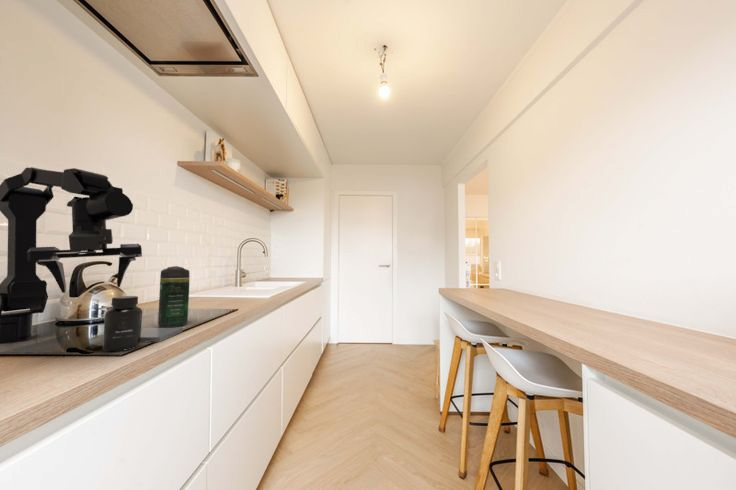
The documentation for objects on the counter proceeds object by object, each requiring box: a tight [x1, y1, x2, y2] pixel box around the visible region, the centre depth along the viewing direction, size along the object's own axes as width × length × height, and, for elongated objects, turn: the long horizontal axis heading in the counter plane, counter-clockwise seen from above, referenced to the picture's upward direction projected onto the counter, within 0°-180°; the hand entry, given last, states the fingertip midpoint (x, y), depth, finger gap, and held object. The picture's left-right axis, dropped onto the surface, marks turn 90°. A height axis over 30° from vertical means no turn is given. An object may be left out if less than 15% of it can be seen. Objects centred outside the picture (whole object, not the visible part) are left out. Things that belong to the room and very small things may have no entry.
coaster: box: [140, 327, 184, 343], centre depth 78 cm, size 10×10×1 cm
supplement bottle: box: [102, 295, 143, 352], centre depth 69 cm, size 7×7×12 cm
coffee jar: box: [157, 265, 190, 328], centre depth 93 cm, size 10×8×19 cm
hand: (92, 289), depth 67 cm, fingers open, 9 cm apart
